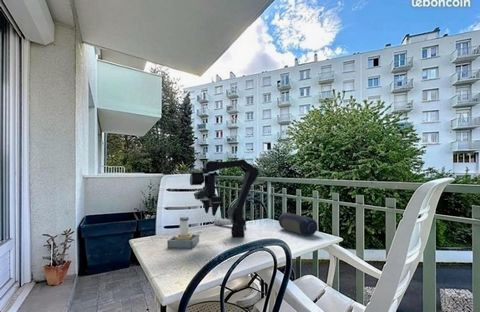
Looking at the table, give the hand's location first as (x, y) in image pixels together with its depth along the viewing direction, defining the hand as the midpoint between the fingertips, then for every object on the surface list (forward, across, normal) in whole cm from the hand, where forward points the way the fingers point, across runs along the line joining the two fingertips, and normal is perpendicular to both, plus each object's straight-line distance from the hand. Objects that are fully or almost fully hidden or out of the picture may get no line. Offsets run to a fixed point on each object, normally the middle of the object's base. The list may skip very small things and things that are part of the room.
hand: (210, 214), depth 136 cm
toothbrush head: (+14, -20, +22) cm, 33 cm away
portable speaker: (+13, +13, +48) cm, 52 cm away
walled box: (+13, +2, -15) cm, 20 cm away
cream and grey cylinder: (+12, +2, -15) cm, 19 cm away
